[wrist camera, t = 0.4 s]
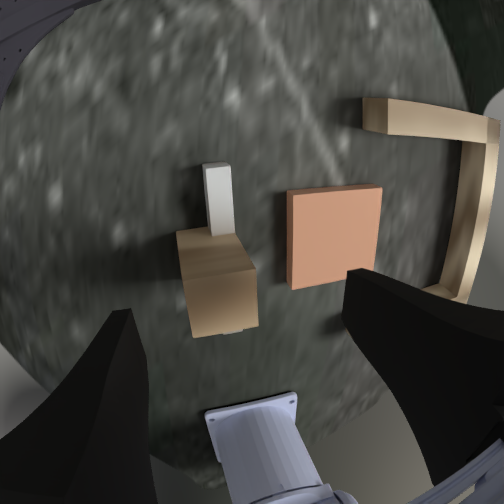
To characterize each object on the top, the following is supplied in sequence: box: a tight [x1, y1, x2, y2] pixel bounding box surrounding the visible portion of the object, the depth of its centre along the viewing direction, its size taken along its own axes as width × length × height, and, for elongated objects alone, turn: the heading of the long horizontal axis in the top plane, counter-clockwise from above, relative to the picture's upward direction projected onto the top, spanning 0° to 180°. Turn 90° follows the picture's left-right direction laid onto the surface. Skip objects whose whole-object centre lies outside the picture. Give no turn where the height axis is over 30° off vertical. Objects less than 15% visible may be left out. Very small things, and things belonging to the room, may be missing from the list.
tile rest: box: [345, 98, 500, 338], centre depth 21 cm, size 17×12×2 cm
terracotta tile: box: [287, 184, 382, 290], centre depth 20 cm, size 6×6×2 cm
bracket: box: [0, 0, 101, 109], centre depth 10 cm, size 14×15×3 cm
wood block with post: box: [176, 162, 258, 338], centre depth 16 cm, size 10×3×6 cm, turn 3°
